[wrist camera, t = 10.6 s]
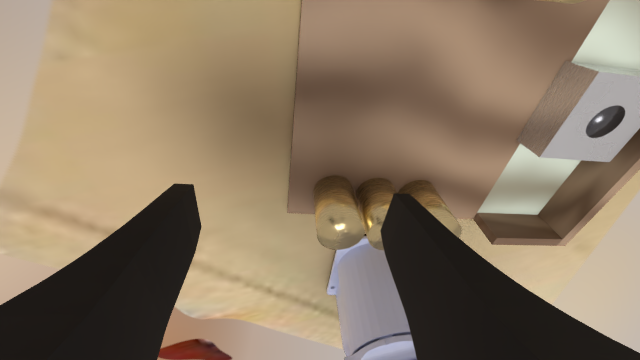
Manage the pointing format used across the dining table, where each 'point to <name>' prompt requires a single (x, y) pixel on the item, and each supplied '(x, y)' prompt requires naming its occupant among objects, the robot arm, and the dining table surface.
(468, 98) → the tray
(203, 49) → the dining table surface
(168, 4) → the dining table surface
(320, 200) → the spacers
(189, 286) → the dining table surface
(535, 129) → the square block with knob
